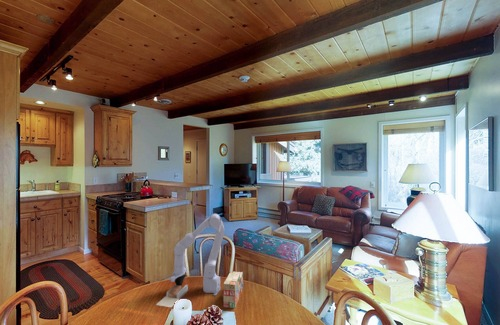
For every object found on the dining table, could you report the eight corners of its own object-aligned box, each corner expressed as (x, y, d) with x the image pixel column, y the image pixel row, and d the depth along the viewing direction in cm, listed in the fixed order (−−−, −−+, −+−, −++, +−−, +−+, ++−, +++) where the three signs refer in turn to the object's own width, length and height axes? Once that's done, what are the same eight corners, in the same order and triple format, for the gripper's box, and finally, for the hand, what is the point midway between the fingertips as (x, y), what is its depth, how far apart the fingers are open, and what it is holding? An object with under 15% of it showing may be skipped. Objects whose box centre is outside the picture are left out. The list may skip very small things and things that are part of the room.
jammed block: (181, 292, 128) (181, 285, 128) (176, 297, 123) (176, 290, 123) (174, 291, 129) (174, 284, 129) (169, 296, 124) (169, 289, 124)
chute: (188, 291, 131) (189, 285, 132) (171, 309, 114) (171, 302, 114) (175, 289, 134) (175, 283, 134) (155, 306, 116) (155, 299, 116)
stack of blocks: (232, 286, 137) (233, 266, 138) (243, 287, 136) (243, 266, 137) (223, 307, 116) (223, 283, 117) (234, 309, 115) (235, 284, 116)
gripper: (180, 259, 138) (179, 281, 137) (165, 269, 124) (165, 294, 123) (190, 260, 136) (190, 283, 136) (177, 270, 122) (176, 296, 122)
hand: (179, 288), depth 129 cm, fingers closed
